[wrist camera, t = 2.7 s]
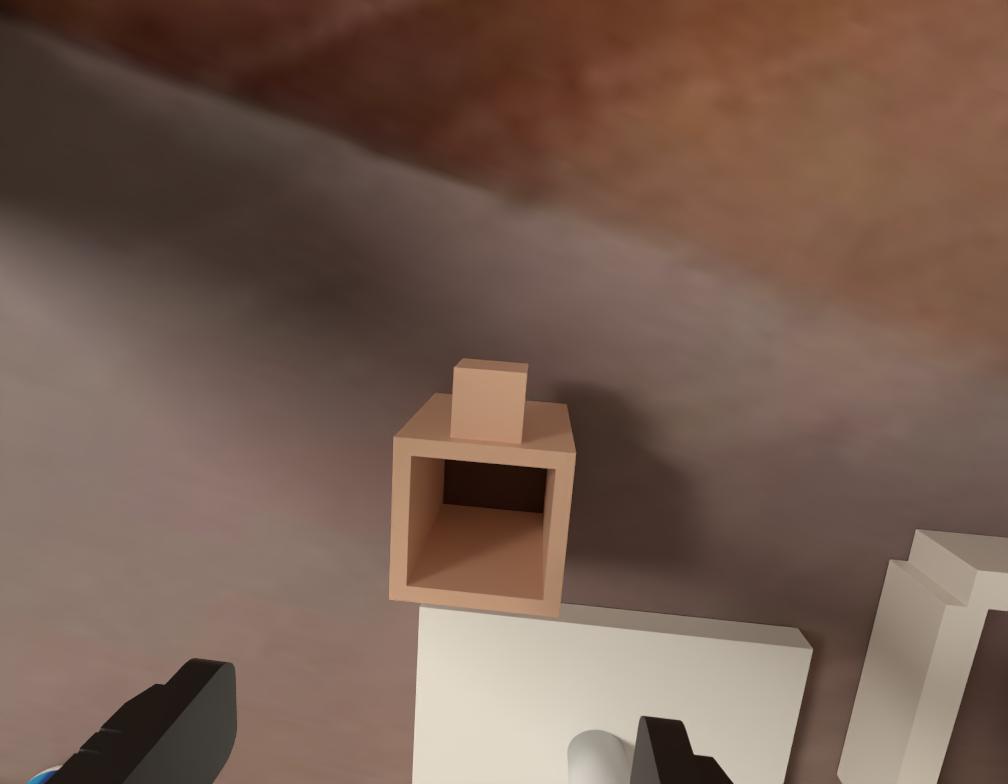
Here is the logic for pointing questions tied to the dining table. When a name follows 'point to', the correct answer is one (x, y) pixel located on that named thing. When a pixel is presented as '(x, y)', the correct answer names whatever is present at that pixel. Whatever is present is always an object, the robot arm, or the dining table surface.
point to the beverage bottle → (44, 775)
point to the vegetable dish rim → (922, 656)
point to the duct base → (599, 693)
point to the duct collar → (474, 530)
